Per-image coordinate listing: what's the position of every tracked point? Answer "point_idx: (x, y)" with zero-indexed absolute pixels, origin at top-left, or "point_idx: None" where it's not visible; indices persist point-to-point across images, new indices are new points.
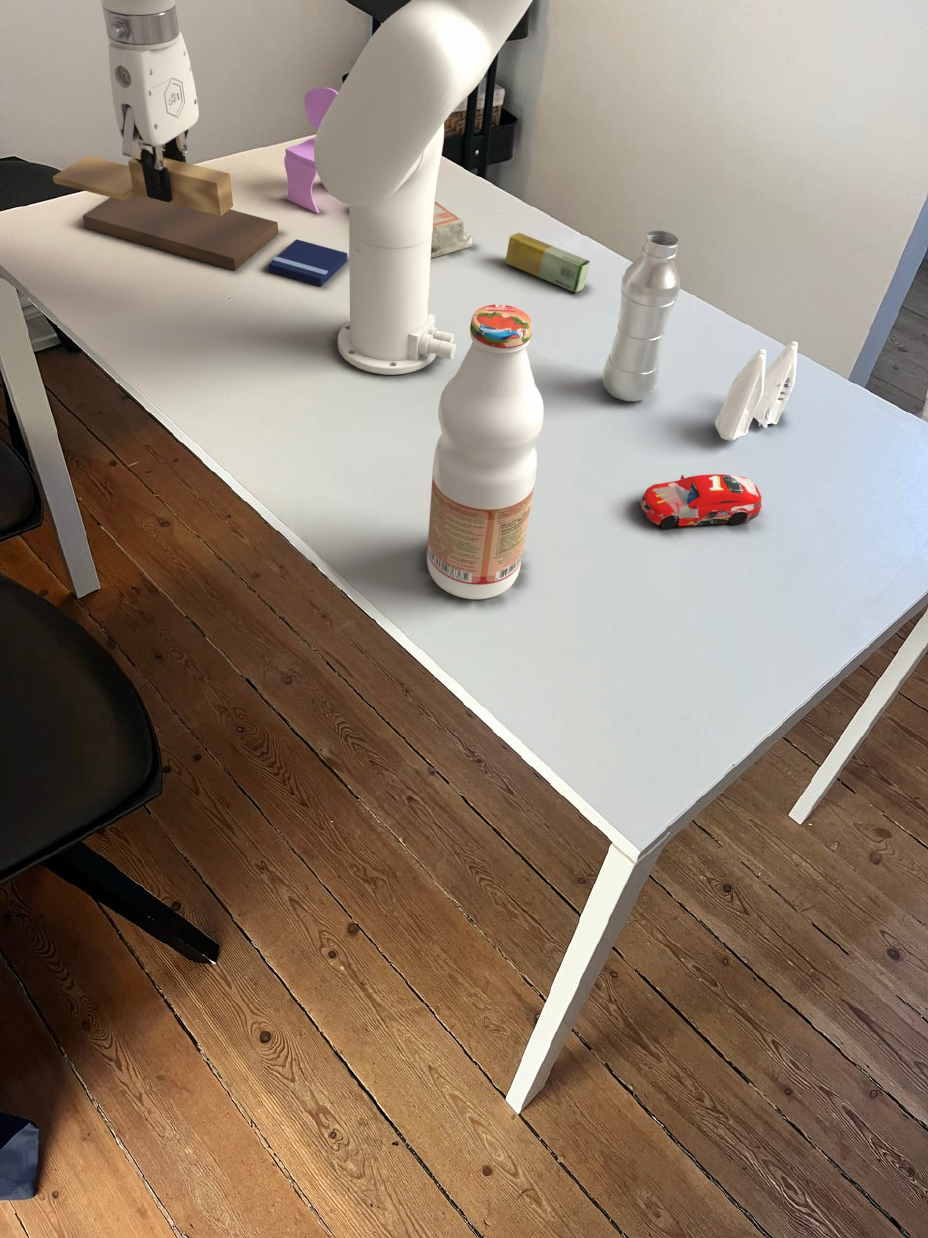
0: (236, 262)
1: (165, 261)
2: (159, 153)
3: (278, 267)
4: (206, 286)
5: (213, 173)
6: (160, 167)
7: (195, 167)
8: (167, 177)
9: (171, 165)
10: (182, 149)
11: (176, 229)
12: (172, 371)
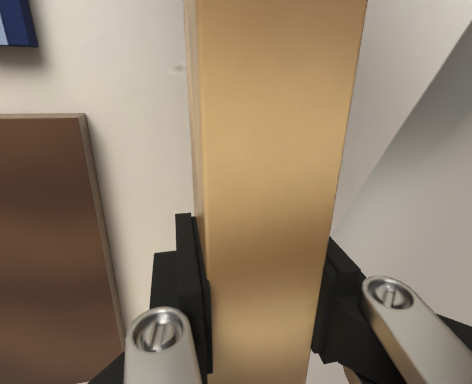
0: (73, 115)
1: (137, 229)
2: (431, 340)
3: (24, 14)
4: (165, 129)
5: (258, 44)
6: (381, 285)
7: (233, 189)
8: (331, 246)
9: (270, 286)
10: (173, 331)
11: (62, 264)
12: (404, 37)
